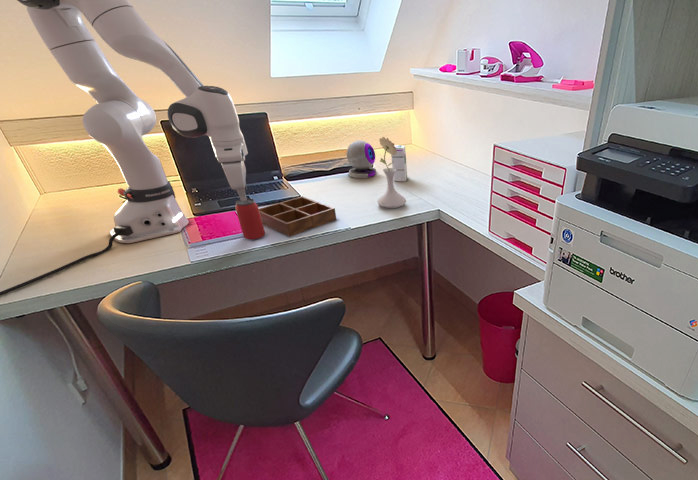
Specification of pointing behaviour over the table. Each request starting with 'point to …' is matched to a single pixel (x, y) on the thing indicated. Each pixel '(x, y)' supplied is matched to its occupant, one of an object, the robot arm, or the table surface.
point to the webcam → (361, 159)
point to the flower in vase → (390, 180)
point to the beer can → (250, 219)
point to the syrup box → (399, 164)
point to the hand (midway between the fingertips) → (244, 195)
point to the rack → (296, 215)
